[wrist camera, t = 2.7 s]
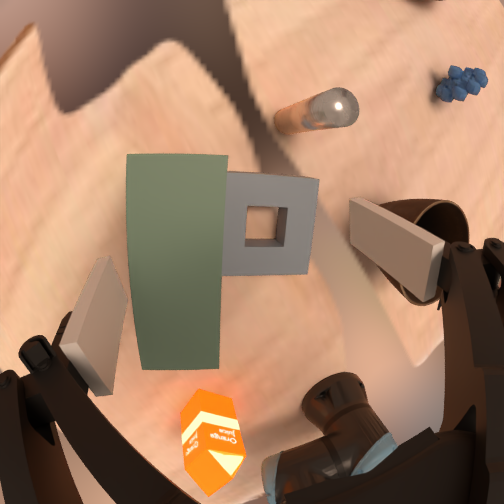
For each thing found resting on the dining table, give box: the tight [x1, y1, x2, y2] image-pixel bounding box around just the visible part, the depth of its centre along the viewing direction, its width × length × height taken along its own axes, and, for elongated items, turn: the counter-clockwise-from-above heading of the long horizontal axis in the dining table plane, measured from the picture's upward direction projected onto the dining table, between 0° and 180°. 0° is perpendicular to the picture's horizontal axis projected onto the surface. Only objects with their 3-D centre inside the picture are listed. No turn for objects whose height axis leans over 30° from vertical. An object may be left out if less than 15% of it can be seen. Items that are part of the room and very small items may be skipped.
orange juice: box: [180, 389, 246, 497], centre depth 44 cm, size 8×9×20 cm
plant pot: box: [376, 199, 469, 306], centre depth 40 cm, size 15×15×16 cm
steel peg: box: [274, 87, 359, 135], centre depth 32 cm, size 4×4×16 cm
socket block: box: [222, 171, 319, 276], centre depth 41 cm, size 18×14×4 cm
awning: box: [126, 154, 228, 370], centre depth 31 cm, size 7×18×21 cm, turn 175°
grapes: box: [436, 65, 488, 102], centre depth 36 cm, size 12×7×12 cm, turn 136°
